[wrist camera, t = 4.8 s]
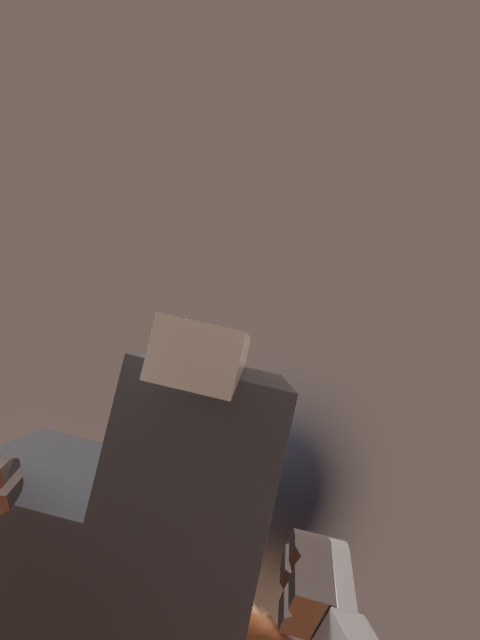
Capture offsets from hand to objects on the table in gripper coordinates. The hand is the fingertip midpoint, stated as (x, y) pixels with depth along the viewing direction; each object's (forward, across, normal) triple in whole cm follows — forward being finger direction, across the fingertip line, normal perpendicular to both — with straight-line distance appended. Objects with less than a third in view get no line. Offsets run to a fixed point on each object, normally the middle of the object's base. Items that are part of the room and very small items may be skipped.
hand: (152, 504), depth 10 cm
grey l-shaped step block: (+6, -6, -30) cm, 31 cm away
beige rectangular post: (+14, 0, -5) cm, 15 cm away
